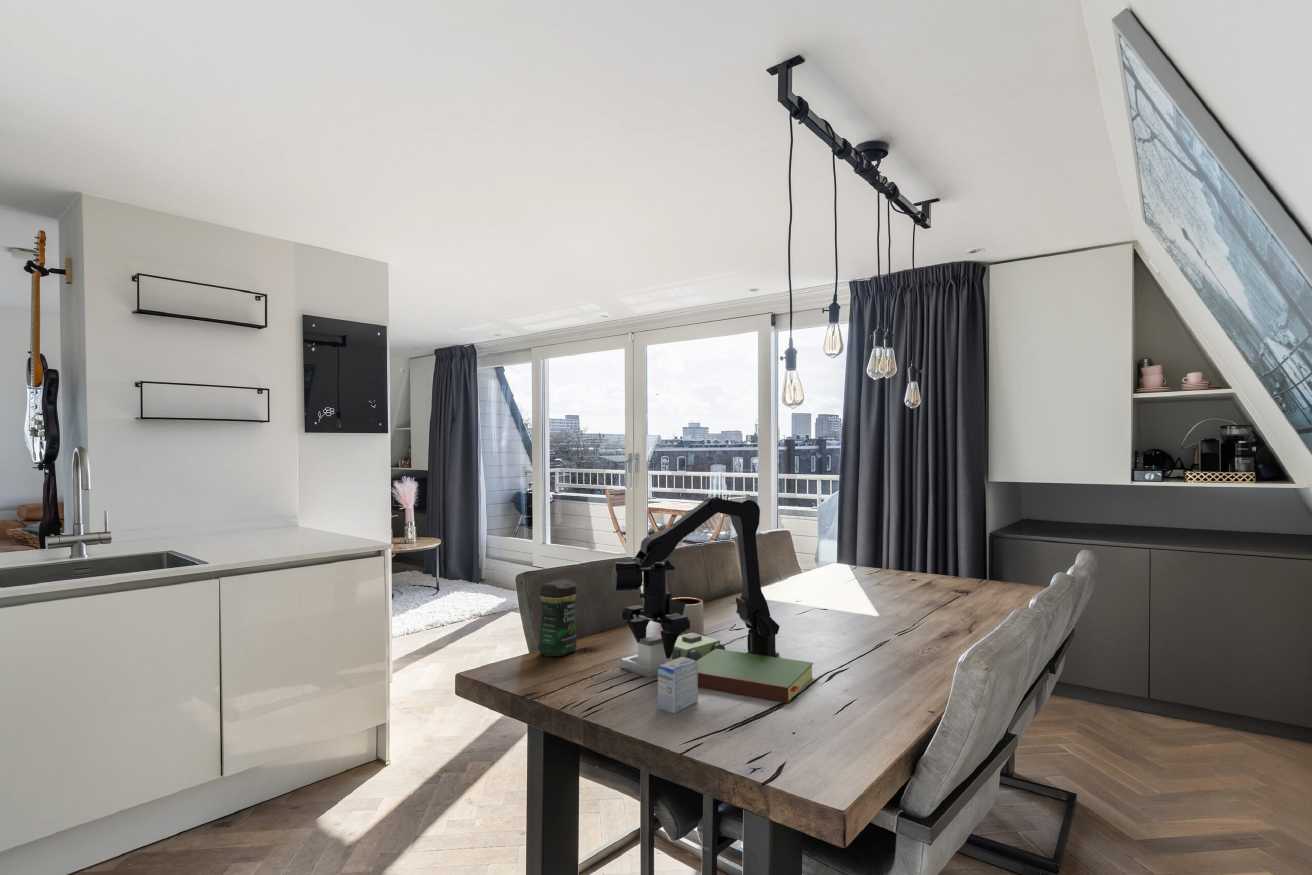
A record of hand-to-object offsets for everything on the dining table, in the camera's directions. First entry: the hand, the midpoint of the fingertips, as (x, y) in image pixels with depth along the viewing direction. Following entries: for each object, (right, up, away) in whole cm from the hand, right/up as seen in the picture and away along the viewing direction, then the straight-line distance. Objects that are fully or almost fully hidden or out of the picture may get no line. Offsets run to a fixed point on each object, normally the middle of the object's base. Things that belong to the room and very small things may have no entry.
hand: (655, 653), depth 159 cm
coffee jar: (-25, -4, +12) cm, 28 cm away
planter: (+8, -4, +29) cm, 30 cm away
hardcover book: (+21, -3, -11) cm, 24 cm away
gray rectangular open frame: (0, -3, 0) cm, 3 cm away
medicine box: (+5, -2, -26) cm, 26 cm away
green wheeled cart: (+9, -3, +8) cm, 12 cm away
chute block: (0, -3, 0) cm, 3 cm away
